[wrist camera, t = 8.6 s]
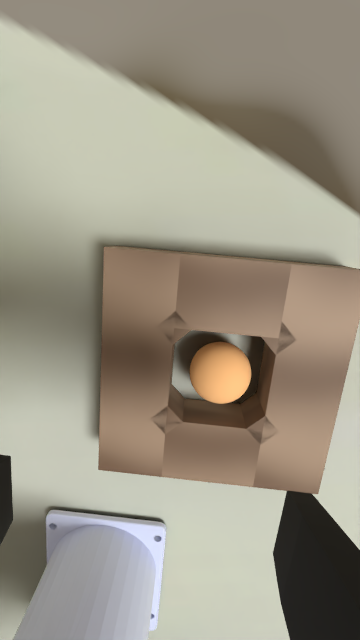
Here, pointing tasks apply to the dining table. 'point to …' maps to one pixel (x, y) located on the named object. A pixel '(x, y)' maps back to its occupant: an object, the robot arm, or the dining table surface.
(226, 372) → the ball
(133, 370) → the hole plate
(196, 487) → the dining table surface
